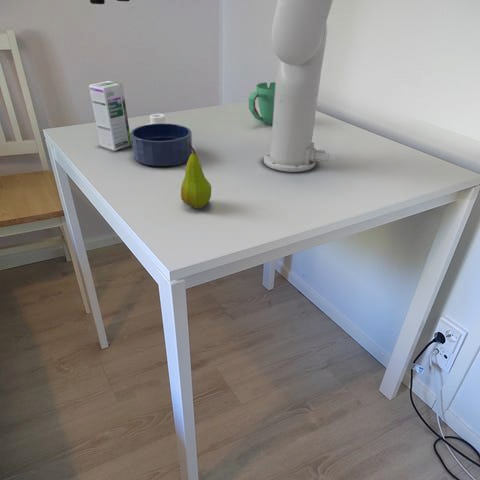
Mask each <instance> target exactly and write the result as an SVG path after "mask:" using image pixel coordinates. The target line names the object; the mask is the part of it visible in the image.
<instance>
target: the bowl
mask: <svg viewBox="0 0 480 480" xmlns="http://www.w3.org/2000/svg"><path fill="white" fill-rule="evenodd" d="M167 123H168V122H166V123H158V124H150V123H147V124H148V125H146V124H143V125H140V126H137V127H135V128H134V129H132V130H131V131H130V137H131V143H132V145H131V148H132V155H133V159H134V160H135V161H137V162H138V163H141V164H144V165H147V166H153V167H170V166H176V165H179V164H183V163H185V162H186V163H187V162H188V160H189V157H190V155H191V154H192V153H193V150H192V148H191V147H190V145H189V144H191V146H192V147H193V138H192V137H193V135H192V130H191V128H189V127H187V126H185V125H181V124H176V123H170V124H167Z"/></svg>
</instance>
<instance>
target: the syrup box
mask: <svg viewBox="0 0 480 480" xmlns="http://www.w3.org/2000/svg"><path fill="white" fill-rule="evenodd" d="M88 88H89V93H90V100H91V104H92V108H93V109H92V110H93V114H94V118H95V119H94V120H95V123H96V129H97V132H98V133H97V134H98V138H99V145H100V146H101V147H102V148H105V149H106V150H107V149H108V150H110V151H114V152H116V151H118V150H121V149H125V148H127V147H132V142H131V135H130V133H131V131H130V124H129V119H128V111H127V105H126V104H127V103H126V98H125V92H124V91H125V90H124V86H123V84H122V83H120V82H117V81H112V80H106V81H102V82H97V83H91V84H89V85H88Z"/></svg>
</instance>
